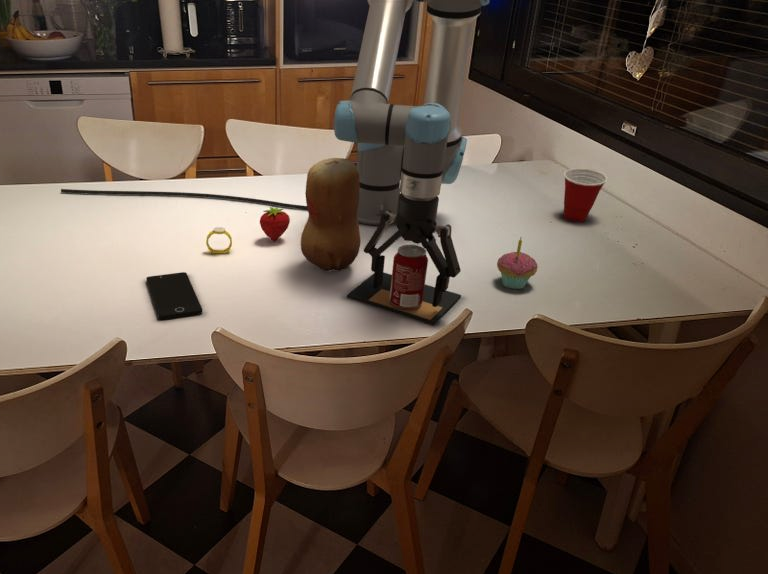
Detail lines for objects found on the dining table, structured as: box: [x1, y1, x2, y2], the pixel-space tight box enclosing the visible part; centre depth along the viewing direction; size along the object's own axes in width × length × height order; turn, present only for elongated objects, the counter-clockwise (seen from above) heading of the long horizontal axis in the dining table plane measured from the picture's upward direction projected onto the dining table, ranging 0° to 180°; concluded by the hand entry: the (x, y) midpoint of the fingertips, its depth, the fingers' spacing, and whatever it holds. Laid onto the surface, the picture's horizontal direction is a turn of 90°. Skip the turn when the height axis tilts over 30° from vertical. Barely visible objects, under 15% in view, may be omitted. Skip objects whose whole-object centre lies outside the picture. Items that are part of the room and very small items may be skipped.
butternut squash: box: [300, 157, 362, 272], centre depth 149 cm, size 14×13×25 cm
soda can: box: [389, 244, 429, 309], centre depth 138 cm, size 7×7×12 cm
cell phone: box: [146, 271, 203, 320], centre depth 144 cm, size 9×18×1 cm, turn 18°
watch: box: [205, 226, 233, 254], centre depth 161 cm, size 6×3×6 cm, turn 96°
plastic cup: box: [563, 167, 609, 223], centre depth 181 cm, size 11×11×12 cm
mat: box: [346, 271, 462, 326], centre depth 145 cm, size 20×14×1 cm
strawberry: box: [259, 204, 291, 242], centre depth 166 cm, size 6×8×10 cm
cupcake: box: [496, 236, 539, 290], centre depth 148 cm, size 9×8×12 cm
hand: (406, 295), depth 140 cm, fingers open, 13 cm apart
